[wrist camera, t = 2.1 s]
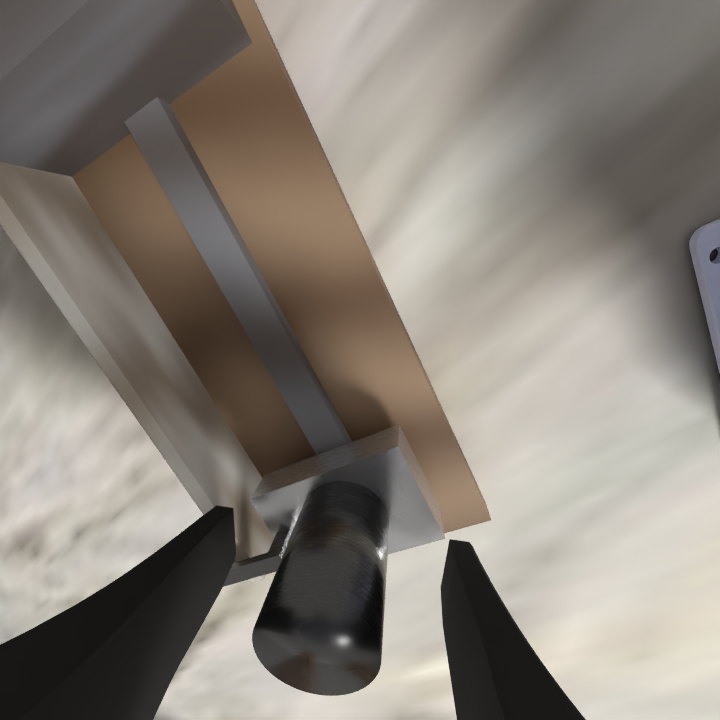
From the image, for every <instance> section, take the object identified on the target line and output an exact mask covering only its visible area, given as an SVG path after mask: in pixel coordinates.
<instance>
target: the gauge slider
mask: <svg viewBox="0 0 720 720" xmlns="http://www.w3.org/2000/svg"><path fill="white" fill-rule="evenodd" d="M250 501H251V502H252V504H253V505H254V507H255V508H256V510H257V512H258V513H259V515H260V516H261V518H262V519H263V521H264V522H265V524H266V525H267V527H268V528H269V530H270V531H271V533H272V534H273V536H274V540H273V542H272V544H271V547H270V549H269V551H268V553H264V554H261V555H258V556H254V557H251V558H248V559H245V560H241V561H238V562H236V560H235V559H234V562H233V564H232V566H231V569H230V571H229V574H228V576H227V578H226V580H225V583H224V585H223V587H224V586H227V585H230V584H234V583H237V582H241V581H244V580H248V579H251V578H255V577H258V576H262V575H265V574H269V573H272V572H276V574H275V576H274V579H273V582H272V584H271V587H270V589H269V592H268V594H267V597H266V599H265V602H264V604H263V607H262V609H261V612H260V614H259V617H258V619H257V622H256V624H255V627H254V630H253V635H252V641H253V647H254V650H255V653H256V655H257V657H258V659H259V660H260V662H261V663H262V664H263V665H264V667H265V668H266V669H267V670H268V671H269V672H270V673H271V674H273V675H274V676H275V677H276V678H278V679H279V680H281V681H282V682H284V683H286V684H288V685H290V686H292V687H294V688H296V689H299V690H302V691H305V692H308V693H313V694H318V695H329V696H333V695H345V694H349V693H353V692H356V691H359V690H360V689H362V688H364V687H366V686H367V685H369V684H370V683H371V682H372V681H373V680H374V679H375V677H376V676H377V674H378V672H379V670H380V666H381V655H382V638H383V621H384V605H385V588H386V571H387V555H388V554H391V553H394V552H398V551H402V550H405V549H409V548H412V547H416V546H420V545H423V544H427V543H431V542H434V541H438V540H441V539H445V535H444V527H443V520H442V512H441V507H440V505H439V503H438V501H437V499H436V497H435V495H434V493H433V491H432V489H431V487H430V485H429V483H428V481H427V479H426V477H425V475H424V473H423V471H422V469H421V467H420V465H419V463H418V461H417V459H416V457H415V455H414V453H413V451H412V449H411V447H410V445H409V443H408V441H407V439H406V437H405V435H404V433H403V431H402V429H401V427H400V425H396V426H394V427H391V428H388V429H386V430H383V431H380V432H378V433H375V434H372V435H370V436H367V437H364V438H361V439H359V440H356V441H353V442H351V443H348V444H345V445H343V446H340V447H337V448H335V449H332V450H329V451H327V452H324V453H321V454H318V455H316V456H313V457H310V458H308V459H305V460H302V461H300V462H297V463H294V464H292V465H289V466H286V467H284V468H281V469H278V470H275V471H273V472H270V473H267V474H265V475H264V477H263V478H262V480H261V482H260V483H259V485H258V487H257V488H256V490H255V491H254V493H253V495H252V496H251V498H250Z"/></svg>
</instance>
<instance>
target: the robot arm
mask: <svg viewBox="0 0 720 720" xmlns="http://www.w3.org/2000/svg"><path fill="white" fill-rule="evenodd" d="M689 248H690V253H691V257H692V261H693V265H694V269H695V273H696V277H697V282H698V286H699V290H700V294H701V298H702V302H703V307H704V311H705V315H706V319H707V323H708V327H709V332H710V336H711V340H712V344H713V348H714V352H715V356H716V361H717V365H718V369H719V373H720V219H718V220H715V221H713V222H711V223H708V224H706V225H704V226H702V227H700V228H699V229H697V230H696V231H695V232H694V233H693V235H692V236H691V239H690V241H689ZM715 248H716V249H717V250H718V256H717V257H716V259H715V260H714V261H712V262H711V261H710V259H709V257H710V253H711V252H712V250H714V249H715ZM235 557H236V542H235V525H234V508H231V507H224V506H217V505H216V506H215V507H214V508H212V509H211V510H210V511H208V512H207V513H206V514H204V515H203V516H202V517H201V518H199V519H198V520H197V521H196V522H194V523H193V524H192V525H190V526H189V527H188V528H187V529H185V530H184V531H183V532H181V533H180V534H179V535H178V536H176V537H175V538H174V539H172V540H171V541H170V542H168V543H167V544H166V545H164V546H163V547H162V548H160V549H159V550H158V551H157V552H155V553H154V554H152V555H151V556H150V557H148V558H147V559H145V560H144V561H143V562H141V563H140V564H138V565H137V566H135V567H134V568H133V569H131V570H130V571H128V572H127V573H126V574H124V575H123V576H121V577H120V578H118V579H117V580H115V581H114V582H112V583H110V584H109V585H107V586H106V587H104V588H103V589H101V590H99V591H98V592H96V593H94V594H93V595H91V596H89V597H88V598H86V599H85V600H83V601H81V602H80V603H78V604H76V605H74V606H73V607H71V608H69V609H67V610H65V611H64V612H62V613H60V614H58V615H56V616H54V617H53V618H51V619H49V620H47V621H45V622H44V623H42V624H40V625H38V626H36V627H34V628H33V629H31V630H29V631H27V632H25V633H23V634H21V635H19V636H17V637H15V638H13V639H11V640H9V641H7V642H5V643H3V644H1V645H0V720H153V718H154V716H155V714H156V712H157V710H158V708H159V705H160V703H161V701H162V699H163V697H164V695H165V693H166V690H167V688H168V686H169V684H170V682H171V680H172V678H173V676H174V674H175V672H176V670H177V668H178V666H179V665H180V663H181V661H182V659H183V657H184V656H185V654H186V652H187V650H188V648H189V647H190V645H191V643H192V641H193V640H194V638H195V636H196V634H197V632H198V631H199V629H200V627H201V625H202V624H203V622H204V620H205V618H206V616H207V615H208V613H209V611H210V609H211V607H212V606H213V604H214V602H215V600H216V598H217V597H218V595H219V593H220V591H221V589H222V587H223V585H224V583H225V580H226V578H227V576H228V574H229V571H230V569H231V566H232V564H233V562H234V559H235ZM441 601H442V619H443V629H444V636H445V643H446V649H447V656H448V663H449V669H450V676H451V682H452V689H453V695H454V702H455V708H456V715H457V720H586V719H585V718H584V717H583V716H582V715H581V713H580V712H579V711H578V710H577V708H576V707H575V706H574V704H573V703H572V702H571V701H570V699H569V698H568V697H567V695H566V694H565V693H564V692H563V690H562V689H561V688H560V686H559V685H558V684H557V682H556V681H555V680H554V678H553V677H552V675H551V674H550V673H549V671H548V670H547V669H546V667H545V666H544V664H543V663H542V662H541V660H540V659H539V657H538V656H537V655H536V653H535V652H534V650H533V649H532V647H531V646H530V644H529V643H528V641H527V640H526V638H525V637H524V635H523V634H522V632H521V631H520V629H519V628H518V626H517V624H516V623H515V621H514V620H513V618H512V616H511V615H510V613H509V612H508V610H507V608H506V607H505V605H504V603H503V602H502V600H501V598H500V597H499V595H498V593H497V591H496V590H495V588H494V586H493V584H492V583H491V581H490V579H489V577H488V575H487V574H486V572H485V570H484V568H483V566H482V564H481V562H480V560H479V558H478V556H477V554H476V552H475V550H474V548H473V546H472V545H471V544H470V542H465V541H458V540H451V539H450V541H449V546H448V551H447V557H446V562H445V567H444V573H443V578H442V584H441Z"/></svg>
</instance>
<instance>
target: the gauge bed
mask: <svg viewBox="0 0 720 720" xmlns="http://www.w3.org/2000/svg"><path fill="white" fill-rule="evenodd" d="M0 225H1V226H2V227H3V229H4V230H5V232H6V233H7V235H8V236H9V237H10V239H11V240H12V242H13V243H14V245H15V246H16V247H17V249H18V250H19V252H20V253H21V255H22V256H23V257H24V259H25V260H26V262H27V263H28V265H29V266H30V267H31V269H32V270H33V272H34V273H35V275H36V276H37V277H38V279H39V280H40V282H41V283H42V285H43V286H44V287H45V289H46V290H47V292H48V293H49V295H50V296H51V297H52V299H53V300H54V302H55V303H56V305H57V306H58V307H59V309H60V310H61V312H62V313H63V315H64V316H65V317H66V319H67V320H68V322H69V323H70V325H71V326H72V327H73V329H74V330H75V332H76V333H77V335H78V336H79V337H80V339H81V340H82V342H83V343H84V345H85V346H86V347H87V349H88V350H89V352H90V353H91V355H92V356H93V357H94V359H95V360H96V362H97V363H98V365H99V366H100V367H101V369H102V370H103V372H104V373H105V375H106V376H107V377H108V379H109V380H110V382H111V383H112V385H113V386H114V387H115V389H116V390H117V392H118V393H119V395H120V396H121V397H122V399H123V400H124V402H125V403H126V405H127V406H128V407H129V409H130V410H131V412H132V413H133V415H134V416H135V417H136V419H137V420H138V422H139V423H140V425H141V426H142V427H143V429H144V430H145V432H146V433H147V435H148V436H149V437H150V439H151V440H152V442H153V443H154V445H155V446H156V447H157V449H158V450H159V452H160V453H161V455H162V456H163V457H164V459H165V460H166V462H167V463H168V465H169V466H170V467H171V469H172V470H173V472H174V473H175V475H176V476H177V477H178V479H179V480H180V482H181V483H182V485H183V486H184V487H185V489H186V490H187V492H188V493H189V495H190V496H191V497H192V499H193V500H194V502H195V503H196V505H197V506H198V507H199V509H200V510H201V512H202V513H203V515H204V514H206V513H207V512H208V511H210V510H211V509H212V508H214V507H215V506H216V505H217V506H224V507H231V508H234V525H235V542H236V557H235V560H236V562H238V561H241V560H245V559H248V558H251V557H254V556H258V555H261V554H264V553H268V551H269V549H270V547H271V544H272V542H273V540H274V536H273V534H272V533H271V531H270V530H269V528H268V527H267V525H266V524H265V522H264V521H263V519H262V518H261V516H260V515H259V513H258V512H257V510H256V508H255V507H254V505H253V504H252V502H251V501H250V498H251V496H252V495H253V493H254V491H255V490H256V488H257V487H258V485H259V483H260V482H261V480H262V478H263V477H264V475H265V474H267V473H270V472H273V471H275V470H278V469H281V468H284V467H286V466H289V465H292V464H294V463H297V462H300V461H302V460H305V459H308V458H310V457H313V456H316V455H318V454H321V453H324V452H327V451H329V450H332V449H335V448H337V447H340V446H343V445H345V444H348V443H351V442H353V441H356V440H359V439H361V438H364V437H367V436H370V435H372V434H375V433H378V432H380V431H383V430H386V429H388V428H391V427H394V426H396V425H400V427H401V429H402V431H403V433H404V435H405V437H406V439H407V441H408V443H409V445H410V447H411V449H412V451H413V453H414V455H415V457H416V459H417V461H418V463H419V465H420V467H421V469H422V471H423V473H424V475H425V477H426V479H427V481H428V483H429V485H430V487H431V489H432V491H433V493H434V495H435V497H436V499H437V501H438V503H439V505H440V507H441V512H442V520H443V527H444V533H447V532H450V531H454V530H457V529H461V528H465V527H468V526H472V525H475V524H479V523H482V522H486V521H490V520H491V518H490V515H489V512H488V509H487V505H486V503H485V501H484V498H483V496H482V494H481V492H480V490H479V487H478V485H477V483H476V481H475V479H474V477H473V474H472V472H471V470H470V468H469V466H468V464H467V461H466V459H465V457H464V455H463V453H462V450H461V448H460V446H459V444H458V442H457V440H456V437H455V435H454V433H453V431H452V429H451V427H450V424H449V422H448V420H447V418H446V416H445V414H444V411H443V409H442V407H441V405H440V403H439V400H438V398H437V396H436V394H435V392H434V390H433V387H432V385H431V383H430V381H429V379H428V377H427V374H426V372H425V370H424V368H423V366H422V364H421V361H420V359H419V357H418V355H417V353H416V350H415V348H414V346H413V344H412V342H411V340H410V337H409V335H408V333H407V331H406V329H405V327H404V324H403V322H402V320H401V318H400V316H399V314H398V311H397V309H396V307H395V305H394V303H393V300H392V298H391V296H390V294H389V292H388V290H387V287H386V285H385V283H384V281H383V279H382V277H381V274H380V272H379V270H378V268H377V266H376V264H375V261H374V259H373V257H372V255H371V253H370V250H369V248H368V246H367V244H366V242H365V240H364V237H363V235H362V233H361V231H360V229H359V227H358V224H357V222H356V220H355V218H354V216H353V214H352V211H351V209H350V207H349V205H348V203H347V200H346V198H345V196H344V194H343V192H342V190H341V187H340V185H339V183H338V181H337V179H336V177H335V174H334V172H333V170H332V168H331V166H330V163H329V161H328V159H327V157H326V155H325V153H324V150H323V148H322V146H321V144H320V142H319V140H318V137H317V135H316V133H315V131H314V129H313V127H312V124H311V122H310V120H309V118H308V116H307V113H306V111H305V109H304V107H303V105H302V103H301V100H300V98H299V96H298V94H297V92H296V90H295V87H294V85H293V83H292V81H291V79H290V77H289V74H288V72H287V70H286V68H285V66H284V63H283V61H282V59H281V57H280V55H279V53H278V50H277V48H276V46H275V44H274V42H273V40H272V37H271V35H270V33H269V31H268V29H267V27H266V24H265V22H264V20H263V18H262V16H261V13H260V11H259V9H258V7H257V5H256V3H255V0H0ZM265 575H266V574H265ZM265 575H262V576H258V577H255V578H251V579H249V580H250V582H254V581H258V580H261V579H264V577H265Z"/></svg>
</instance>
